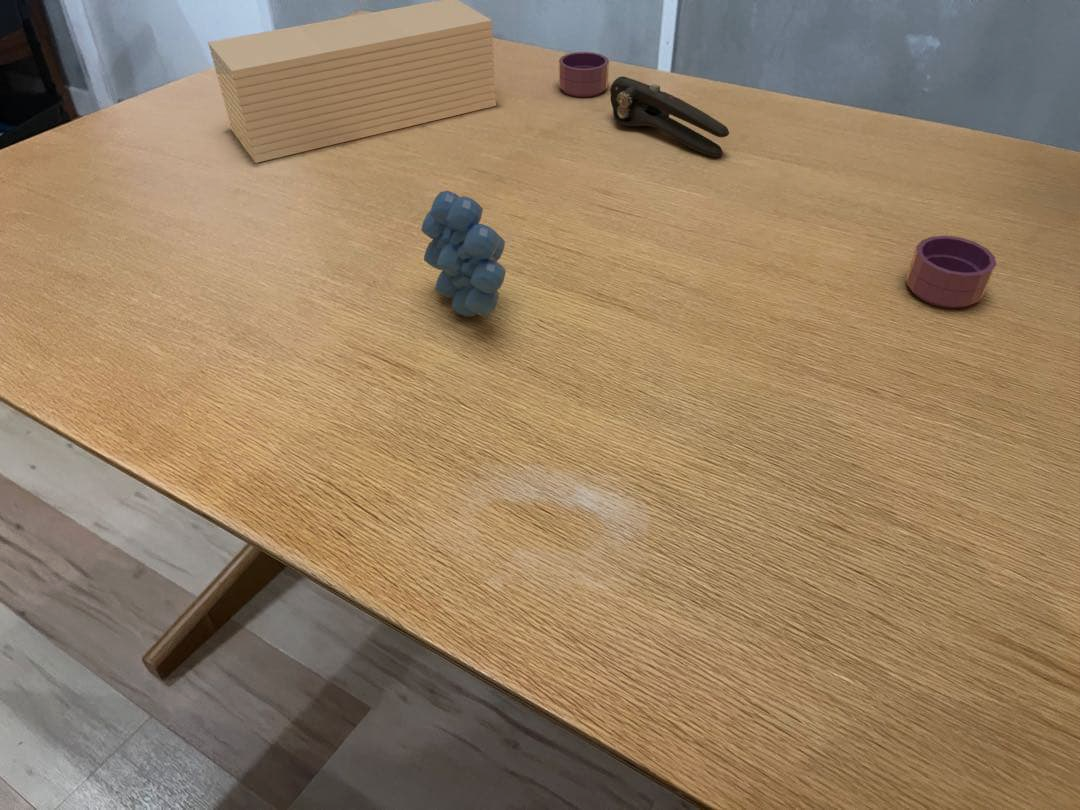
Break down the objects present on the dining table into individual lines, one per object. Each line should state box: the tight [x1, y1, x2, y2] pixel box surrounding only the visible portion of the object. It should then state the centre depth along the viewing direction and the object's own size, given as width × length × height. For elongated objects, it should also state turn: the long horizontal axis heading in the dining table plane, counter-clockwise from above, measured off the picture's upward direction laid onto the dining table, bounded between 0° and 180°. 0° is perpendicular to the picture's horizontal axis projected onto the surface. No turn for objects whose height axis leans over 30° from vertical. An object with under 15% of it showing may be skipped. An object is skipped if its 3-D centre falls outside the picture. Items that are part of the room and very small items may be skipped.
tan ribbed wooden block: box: [207, 0, 497, 164], centre depth 102 cm, size 32×11×11 cm, turn 120°
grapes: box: [421, 190, 507, 318], centre depth 70 cm, size 12×7×12 cm, turn 34°
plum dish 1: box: [558, 51, 610, 98], centre depth 111 cm, size 7×7×4 cm
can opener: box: [609, 76, 730, 158], centre depth 99 cm, size 18×7×6 cm, turn 41°
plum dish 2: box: [905, 235, 997, 309], centre depth 74 cm, size 7×7×4 cm
